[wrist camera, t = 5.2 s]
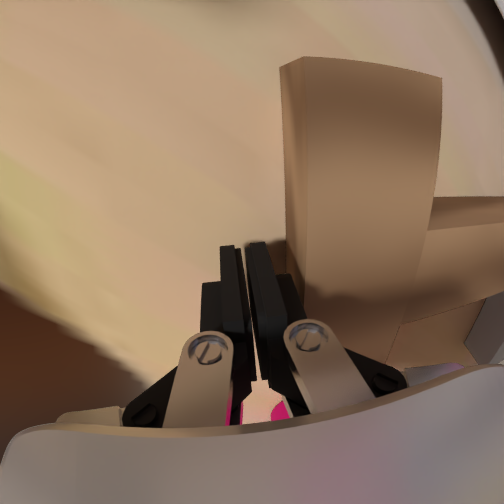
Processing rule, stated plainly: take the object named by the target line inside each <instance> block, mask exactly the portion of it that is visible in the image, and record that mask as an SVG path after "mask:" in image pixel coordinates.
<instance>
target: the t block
mask: <svg viewBox="0 0 504 504" xmlns="http://www.w3.org/2000/svg"><path fill="white" fill-rule="evenodd" d="M279 68H280V83H281V100H282V120H283V142H284V170H285V208H286V274H288V273H290V274H291V276H292V279H293V281H294V284H295V286H296V289H297V292H298V294H299V297H300V300H301V302H302V305H303V308H304V310H305V313H306V316H307V318H308V319H313V320H317V321H321V322H323V323H324V324H326V325H328V326H329V328H330V329H331V330H332V331H333V333H334V334H335V336H336V337H337V339H338V340H339V342H340V343H341V345H342V346H343V347H344V348H347V349H349V350H352V351H354V352H356V353H359V354H361V355H363V356H366V357H368V358H371V359H373V360H376V361H378V362H381V363H383V364H385V362H386V360H387V357H388V355H389V352H390V350H391V348H392V345H393V342H394V340H395V337H396V335H397V332H398V329H399V327H400V325H401V324H404V323H408V322H412V321H415V320H419V319H423V318H426V317H429V316H433V315H436V314H439V313H443V312H446V311H449V310H452V309H455V308H458V307H461V306H464V305H467V304H470V303H473V302H476V301H479V300H481V299H484V298H487V297H490V296H492V295H495V294H497V293H500V292H503V291H504V197H434V190H435V184H436V177H437V169H438V160H439V150H440V138H441V121H442V78H440V77H436V76H432V75H429V74H425V73H421V72H417V71H412V70H408V69H403V68H398V67H393V66H388V65H382V64H376V63H369V62H362V61H354V60H346V59H336V58H323V57H305V56H304V57H301V58H299V59H297V60H294V61H292V62H290V63H288V64H286V65H283V66H281V67H279Z"/></svg>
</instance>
